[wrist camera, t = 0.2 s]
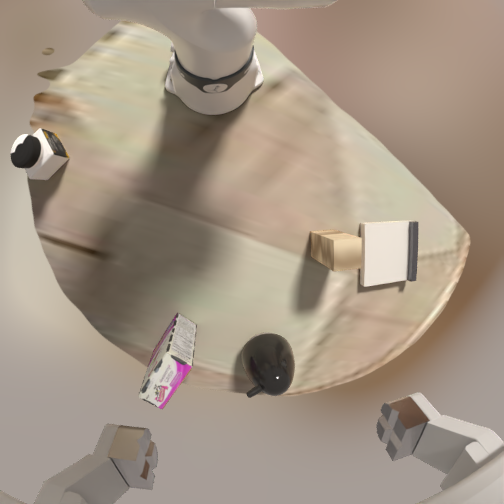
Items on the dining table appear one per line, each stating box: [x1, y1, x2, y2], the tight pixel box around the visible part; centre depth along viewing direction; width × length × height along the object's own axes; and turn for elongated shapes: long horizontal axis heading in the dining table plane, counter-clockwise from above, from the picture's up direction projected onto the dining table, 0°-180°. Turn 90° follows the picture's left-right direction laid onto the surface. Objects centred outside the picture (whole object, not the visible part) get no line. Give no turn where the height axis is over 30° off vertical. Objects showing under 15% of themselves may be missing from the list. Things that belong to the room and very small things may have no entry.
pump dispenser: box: [241, 333, 295, 397], centre depth 52 cm, size 10×10×15 cm
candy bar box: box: [138, 313, 197, 409], centre depth 49 cm, size 11×5×16 cm, turn 146°
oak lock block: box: [310, 230, 362, 271], centre depth 51 cm, size 5×5×12 cm
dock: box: [360, 220, 418, 287], centre depth 57 cm, size 13×13×4 cm
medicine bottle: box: [11, 128, 69, 180], centre depth 41 cm, size 7×7×12 cm
